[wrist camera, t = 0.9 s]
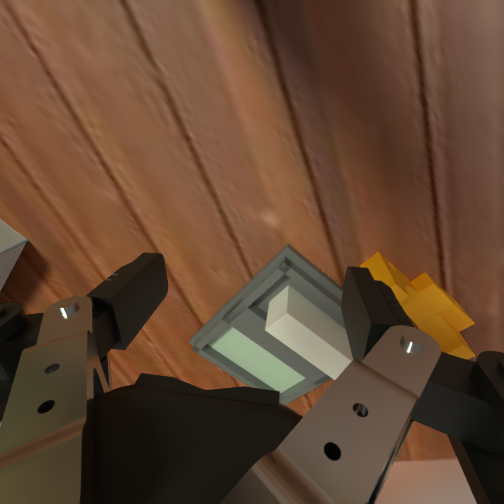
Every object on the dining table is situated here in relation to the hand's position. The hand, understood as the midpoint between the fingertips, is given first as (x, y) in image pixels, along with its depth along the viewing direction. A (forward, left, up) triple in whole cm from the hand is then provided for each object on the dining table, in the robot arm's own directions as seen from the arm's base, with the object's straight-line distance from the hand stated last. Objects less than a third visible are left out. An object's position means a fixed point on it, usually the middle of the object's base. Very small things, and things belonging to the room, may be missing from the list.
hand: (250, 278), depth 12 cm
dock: (+16, +15, -18) cm, 28 cm away
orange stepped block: (-1, +20, -19) cm, 27 cm away
